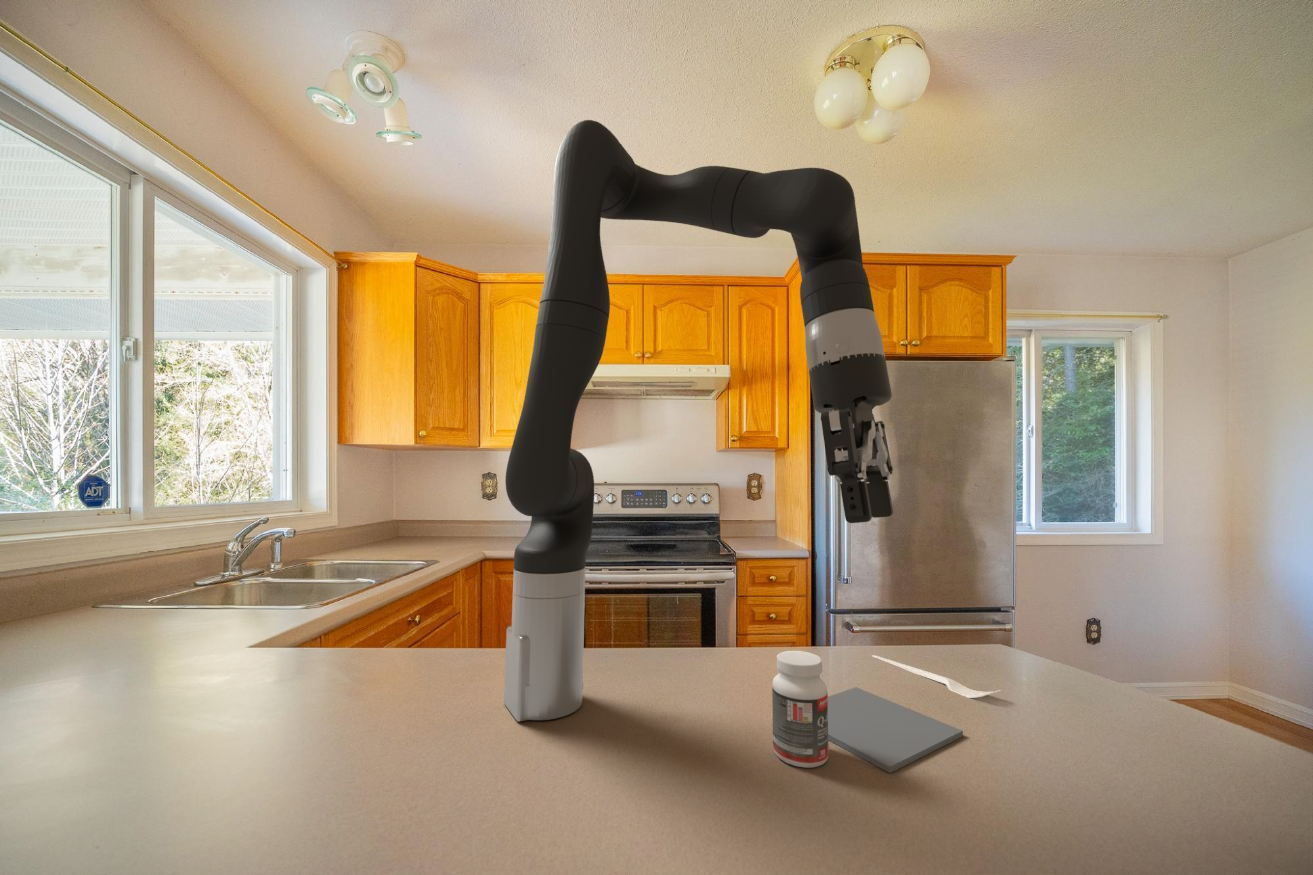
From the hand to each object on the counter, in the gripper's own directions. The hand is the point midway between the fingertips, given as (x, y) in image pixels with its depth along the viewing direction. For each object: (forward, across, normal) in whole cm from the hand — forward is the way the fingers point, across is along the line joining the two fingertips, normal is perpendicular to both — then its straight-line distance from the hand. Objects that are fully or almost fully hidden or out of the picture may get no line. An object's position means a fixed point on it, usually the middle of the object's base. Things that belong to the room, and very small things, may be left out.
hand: (871, 519), depth 49 cm
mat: (+24, -12, -7) cm, 28 cm away
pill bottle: (+24, -1, -11) cm, 27 cm away
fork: (+26, -34, -5) cm, 42 cm away
